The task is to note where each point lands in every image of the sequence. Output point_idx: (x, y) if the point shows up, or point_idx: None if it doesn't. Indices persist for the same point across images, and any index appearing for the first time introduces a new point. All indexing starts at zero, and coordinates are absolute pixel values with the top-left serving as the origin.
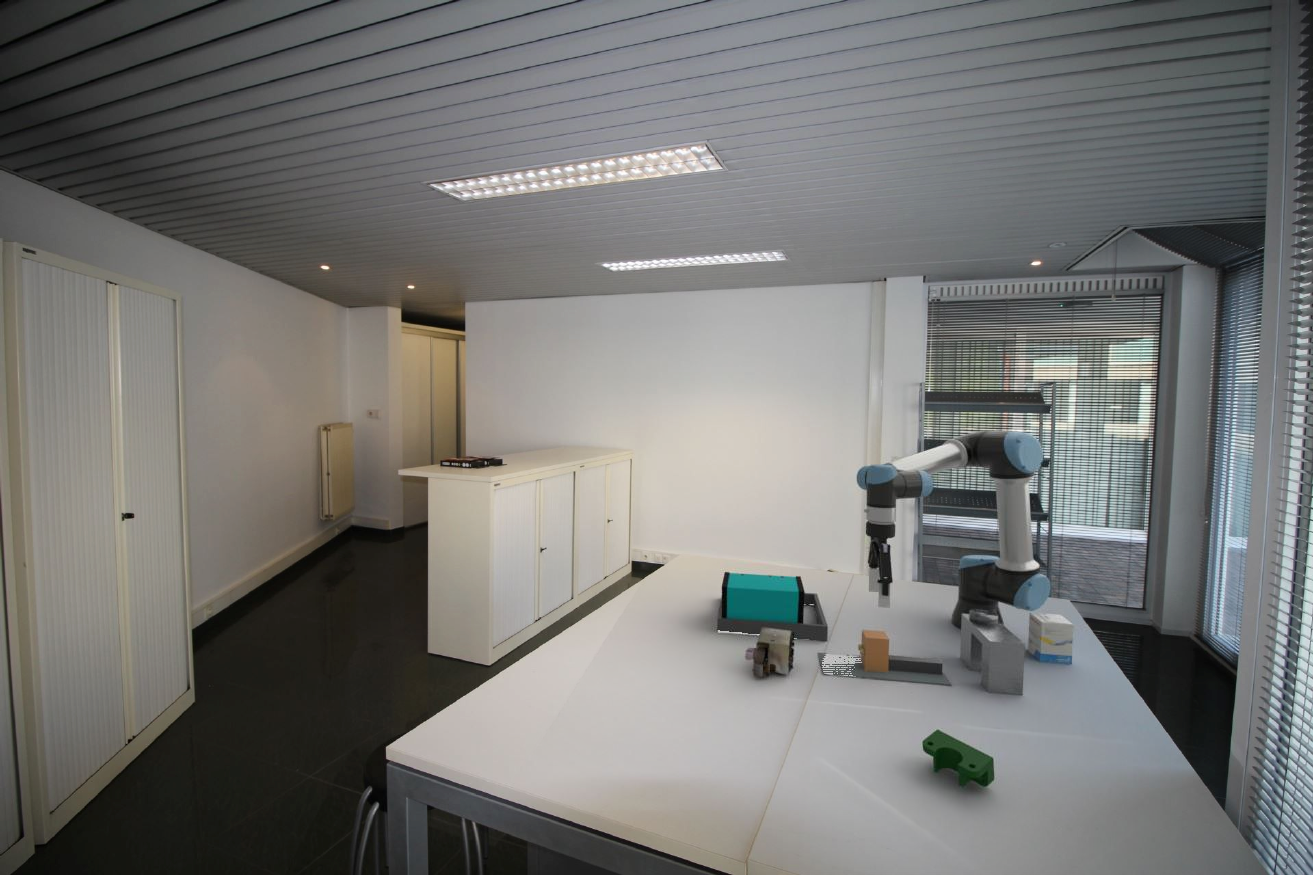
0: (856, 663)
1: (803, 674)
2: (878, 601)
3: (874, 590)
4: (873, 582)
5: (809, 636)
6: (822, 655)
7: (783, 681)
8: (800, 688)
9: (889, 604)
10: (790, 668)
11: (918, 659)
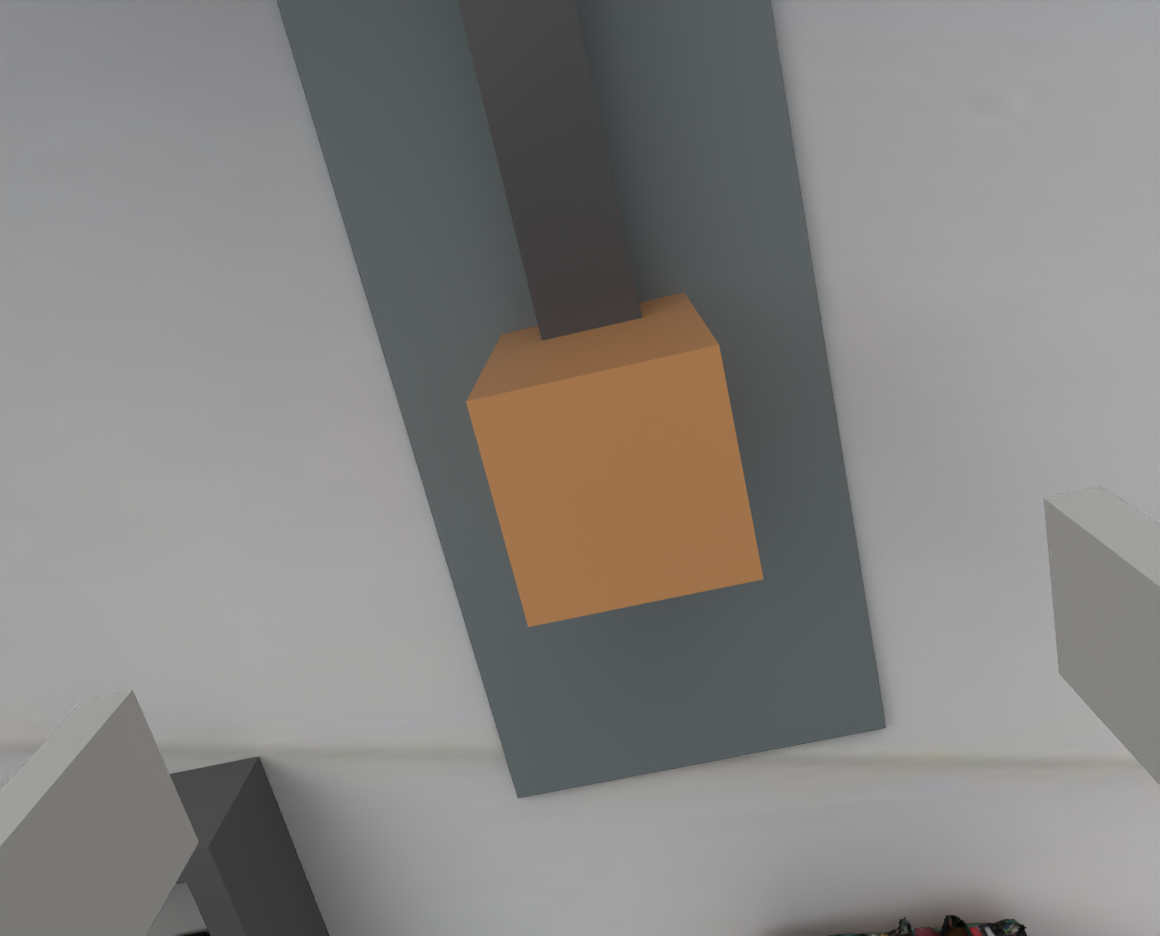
0: None
1: (920, 829)
2: (1109, 723)
3: (156, 781)
4: (81, 919)
5: (292, 895)
6: (560, 764)
7: (1069, 916)
8: (1145, 818)
9: (1136, 515)
10: (969, 929)
11: (519, 24)
